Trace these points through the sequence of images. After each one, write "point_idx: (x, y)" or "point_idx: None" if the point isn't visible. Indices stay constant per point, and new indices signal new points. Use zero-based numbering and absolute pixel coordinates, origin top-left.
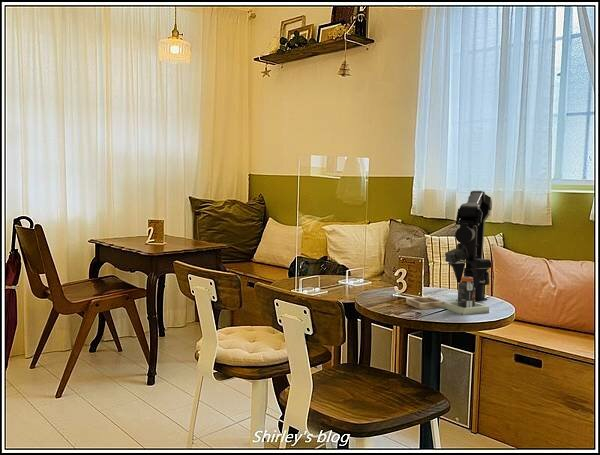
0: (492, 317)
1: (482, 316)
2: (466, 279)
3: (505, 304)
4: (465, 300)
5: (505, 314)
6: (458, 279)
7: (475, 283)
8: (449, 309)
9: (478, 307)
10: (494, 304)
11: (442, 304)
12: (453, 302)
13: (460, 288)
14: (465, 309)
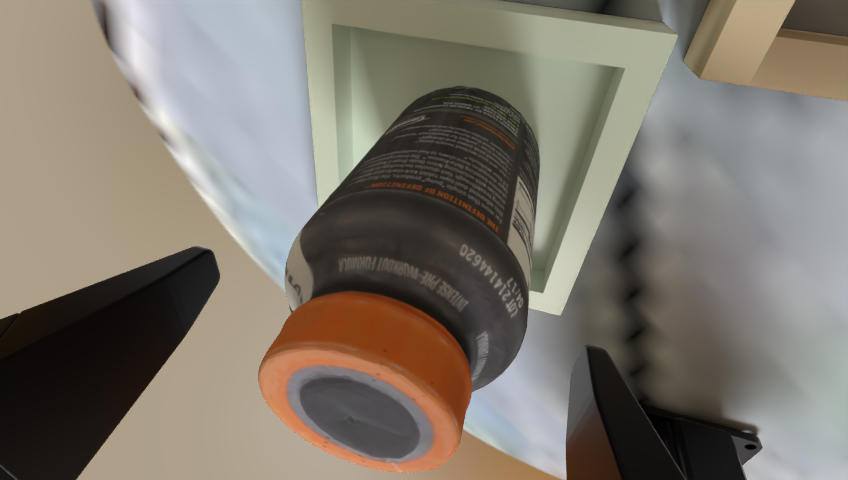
0: (211, 135)
1: (247, 95)
2: (285, 329)
3: (464, 428)
4: (384, 134)
5: (271, 261)
6: (585, 395)
7: (140, 278)
8: (556, 9)
9: (316, 168)
10: (495, 402)
11: (707, 33)
12: (597, 142)
13: (407, 182)
14: (308, 14)
